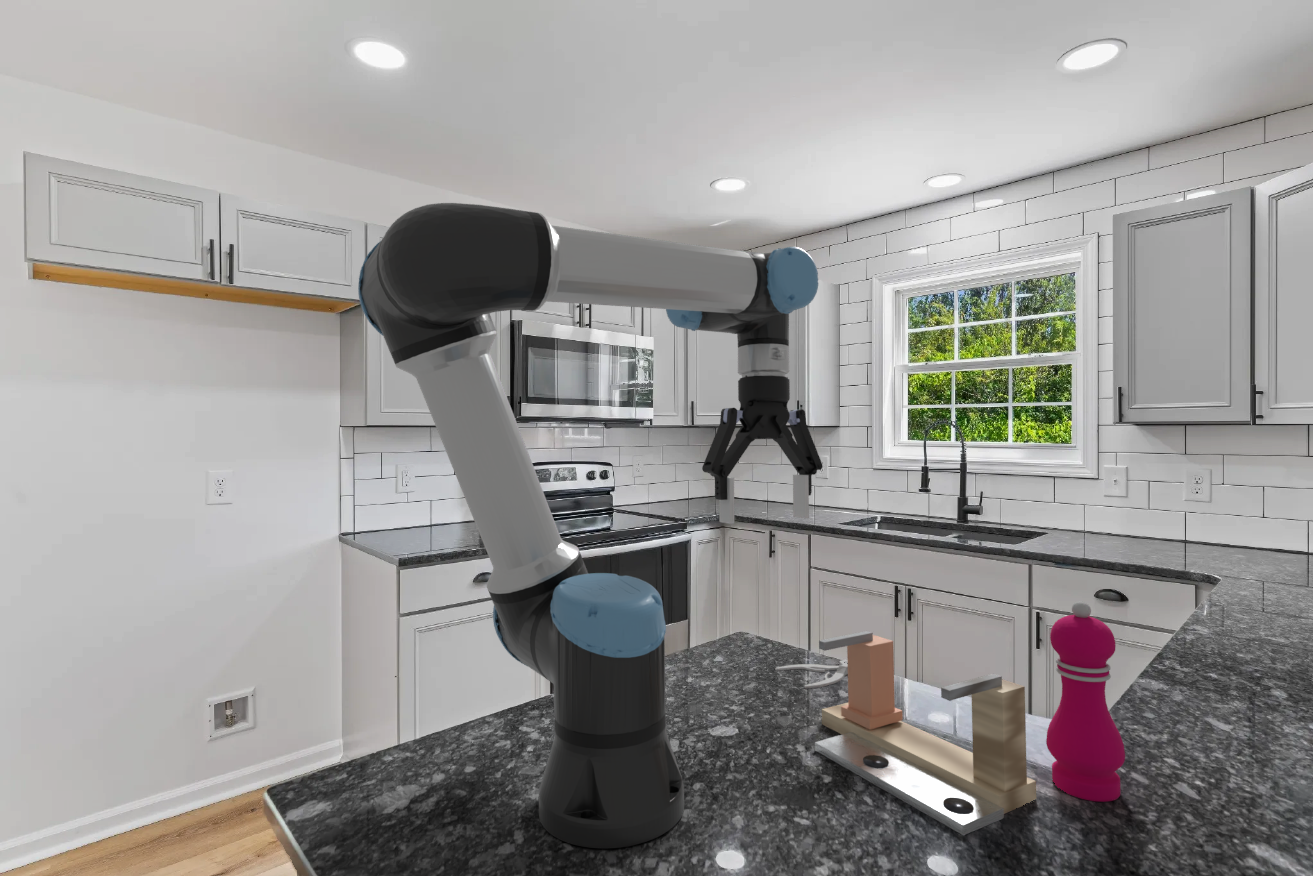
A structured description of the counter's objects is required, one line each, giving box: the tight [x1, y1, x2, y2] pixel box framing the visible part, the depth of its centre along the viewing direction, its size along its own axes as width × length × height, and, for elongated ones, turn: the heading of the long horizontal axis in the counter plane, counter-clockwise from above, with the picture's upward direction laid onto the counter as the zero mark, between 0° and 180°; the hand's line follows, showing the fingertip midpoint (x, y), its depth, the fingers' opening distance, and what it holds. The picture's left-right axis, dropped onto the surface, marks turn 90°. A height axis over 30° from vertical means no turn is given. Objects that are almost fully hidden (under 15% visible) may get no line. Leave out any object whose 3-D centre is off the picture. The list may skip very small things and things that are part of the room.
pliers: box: [774, 658, 848, 690], centre depth 112 cm, size 10×2×15 cm
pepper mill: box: [1045, 601, 1126, 803], centre depth 74 cm, size 7×7×20 cm
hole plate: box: [814, 732, 1005, 836], centre depth 76 cm, size 6×21×1 cm, turn 28°
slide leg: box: [818, 630, 904, 730], centre depth 87 cm, size 11×5×11 cm, turn 118°
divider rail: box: [821, 673, 1037, 815], centre depth 80 cm, size 11×26×13 cm, turn 28°
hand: (765, 520), depth 101 cm, fingers open, 13 cm apart
